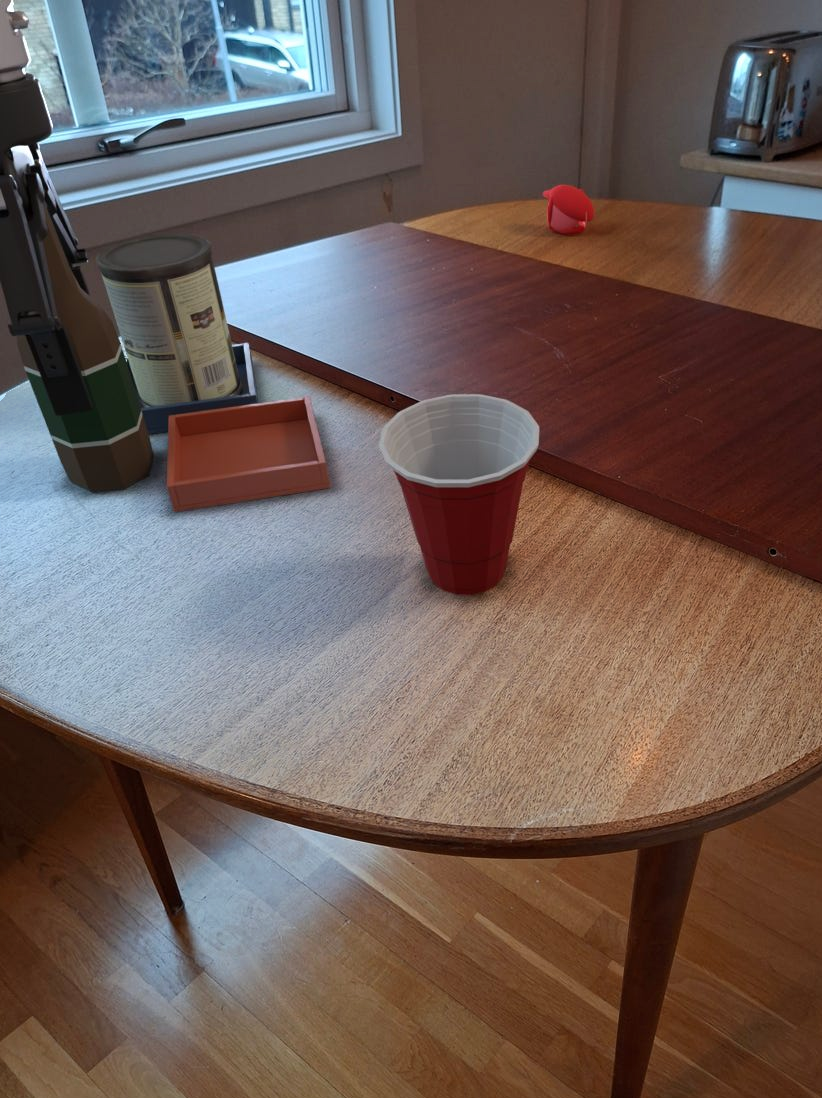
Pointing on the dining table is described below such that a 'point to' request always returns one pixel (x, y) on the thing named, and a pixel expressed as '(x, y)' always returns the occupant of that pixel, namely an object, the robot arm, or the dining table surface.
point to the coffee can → (171, 318)
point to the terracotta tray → (244, 454)
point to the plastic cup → (462, 482)
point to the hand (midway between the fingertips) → (82, 376)
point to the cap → (568, 209)
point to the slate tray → (159, 415)
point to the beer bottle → (91, 389)
